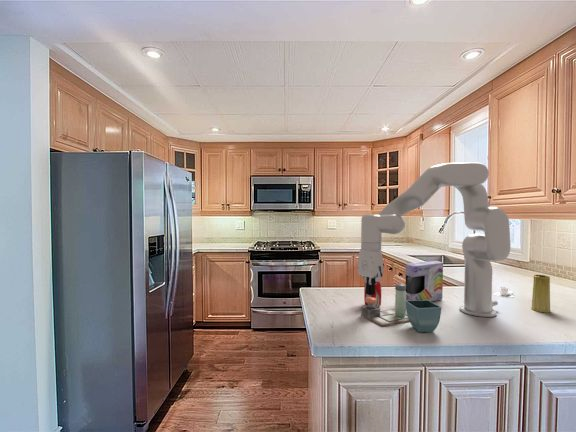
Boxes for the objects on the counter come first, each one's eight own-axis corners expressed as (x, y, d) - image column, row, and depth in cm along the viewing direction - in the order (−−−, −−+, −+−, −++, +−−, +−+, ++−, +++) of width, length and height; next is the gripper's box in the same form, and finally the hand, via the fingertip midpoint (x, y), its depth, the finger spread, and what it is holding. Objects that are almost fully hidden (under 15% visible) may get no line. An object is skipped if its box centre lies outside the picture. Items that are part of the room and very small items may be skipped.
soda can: (382, 309, 127) (382, 280, 126) (364, 308, 128) (364, 279, 128) (380, 304, 133) (380, 276, 133) (363, 302, 135) (364, 276, 135)
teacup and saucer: (509, 294, 151) (509, 285, 151) (519, 298, 143) (520, 290, 143) (490, 293, 152) (490, 285, 152) (499, 298, 144) (500, 289, 144)
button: (371, 307, 120) (371, 296, 120) (378, 310, 116) (378, 299, 116) (363, 308, 118) (363, 297, 118) (369, 311, 115) (370, 300, 114)
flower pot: (404, 324, 110) (404, 300, 109) (427, 324, 110) (428, 299, 110) (416, 335, 101) (417, 308, 101) (442, 334, 101) (442, 307, 101)
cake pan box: (410, 305, 131) (411, 265, 131) (402, 302, 136) (402, 263, 135) (443, 300, 138) (444, 262, 138) (434, 297, 143) (435, 260, 142)
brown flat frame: (393, 310, 125) (393, 301, 125) (416, 320, 114) (416, 310, 114) (361, 315, 119) (361, 306, 118) (382, 326, 108) (382, 316, 107)
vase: (546, 308, 127) (547, 274, 127) (553, 313, 121) (554, 278, 121) (528, 307, 129) (529, 273, 129) (535, 311, 123) (535, 277, 123)
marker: (400, 313, 119) (400, 283, 118) (407, 317, 115) (408, 285, 115) (392, 315, 117) (393, 284, 116) (400, 318, 114) (400, 286, 113)
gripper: (351, 244, 122) (350, 290, 122) (376, 249, 108) (375, 300, 109) (366, 244, 125) (365, 288, 125) (392, 248, 111) (391, 298, 112)
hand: (370, 294), depth 117 cm, fingers closed
